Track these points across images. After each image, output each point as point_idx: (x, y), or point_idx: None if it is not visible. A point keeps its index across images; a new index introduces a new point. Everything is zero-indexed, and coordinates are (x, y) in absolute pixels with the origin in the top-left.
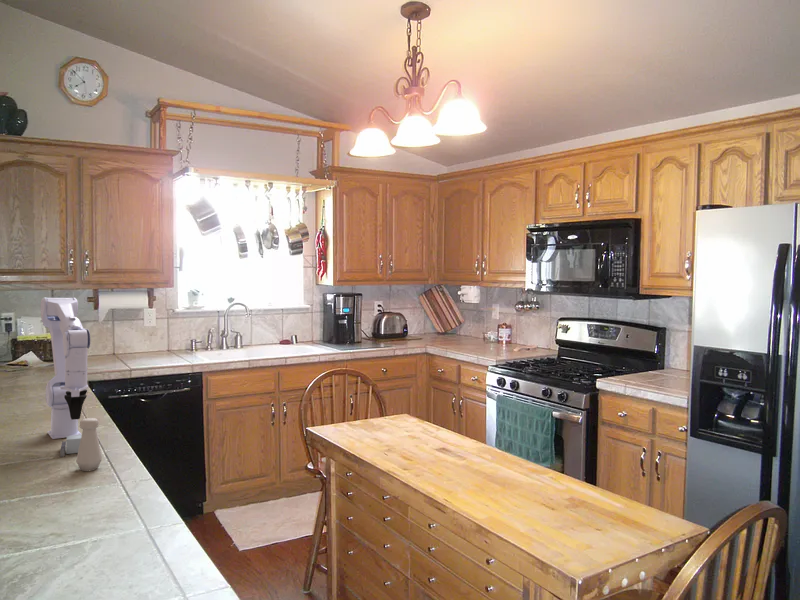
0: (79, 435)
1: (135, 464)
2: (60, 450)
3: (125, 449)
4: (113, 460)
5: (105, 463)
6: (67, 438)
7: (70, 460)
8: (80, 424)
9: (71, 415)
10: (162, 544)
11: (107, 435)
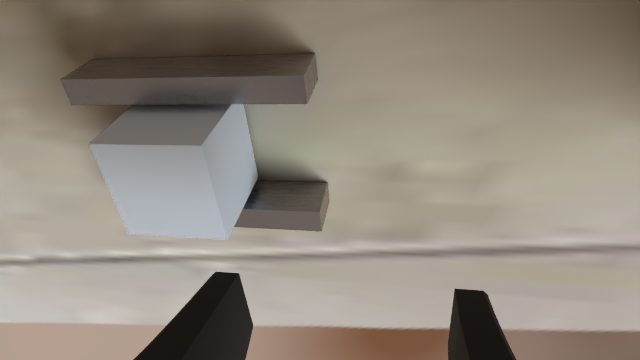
0: (206, 220)
1: (10, 319)
2: (62, 78)
3: None
4: (51, 272)
5: (6, 246)
6: (119, 150)
7: (31, 117)
8: None
9: (184, 312)
10: None
11: (569, 296)
